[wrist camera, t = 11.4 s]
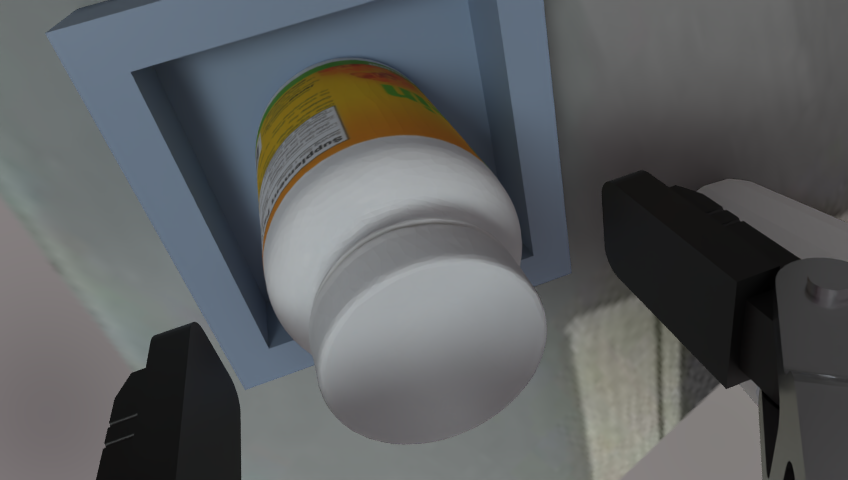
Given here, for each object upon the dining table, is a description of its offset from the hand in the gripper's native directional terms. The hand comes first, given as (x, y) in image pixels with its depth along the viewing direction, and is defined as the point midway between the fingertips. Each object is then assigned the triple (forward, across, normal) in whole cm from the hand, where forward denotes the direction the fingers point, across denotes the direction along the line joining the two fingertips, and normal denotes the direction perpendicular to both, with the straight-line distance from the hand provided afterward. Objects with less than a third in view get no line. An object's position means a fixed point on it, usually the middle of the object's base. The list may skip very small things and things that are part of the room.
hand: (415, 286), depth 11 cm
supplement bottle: (+8, 0, 0) cm, 8 cm away
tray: (+8, 0, 0) cm, 8 cm away
